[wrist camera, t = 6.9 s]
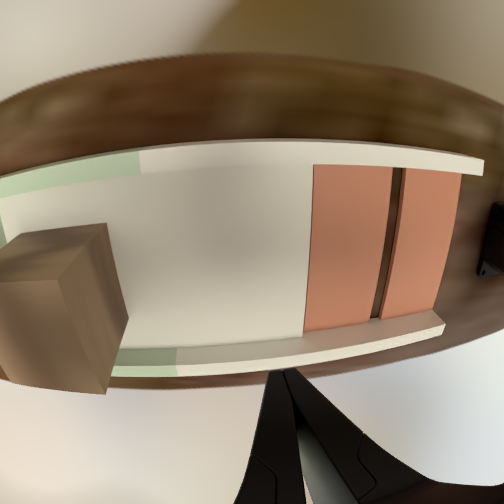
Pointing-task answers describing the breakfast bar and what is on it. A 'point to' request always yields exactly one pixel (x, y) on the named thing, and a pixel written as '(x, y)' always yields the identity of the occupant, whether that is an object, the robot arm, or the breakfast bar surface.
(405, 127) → the breakfast bar surface
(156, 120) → the breakfast bar surface
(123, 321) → the walnut block
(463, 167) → the trap channel
